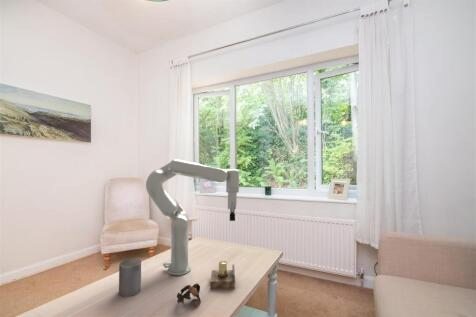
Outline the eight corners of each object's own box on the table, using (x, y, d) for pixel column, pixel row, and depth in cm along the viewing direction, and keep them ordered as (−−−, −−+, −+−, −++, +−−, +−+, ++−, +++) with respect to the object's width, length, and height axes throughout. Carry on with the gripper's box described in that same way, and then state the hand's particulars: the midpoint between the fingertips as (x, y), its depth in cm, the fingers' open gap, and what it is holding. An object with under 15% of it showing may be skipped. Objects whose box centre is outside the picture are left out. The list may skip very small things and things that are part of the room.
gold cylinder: (218, 284, 119) (218, 264, 119) (218, 280, 123) (219, 261, 123) (226, 284, 119) (226, 264, 119) (226, 280, 123) (226, 261, 123)
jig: (210, 288, 114) (210, 275, 114) (211, 276, 126) (212, 264, 126) (234, 288, 115) (234, 275, 115) (234, 276, 127) (234, 264, 127)
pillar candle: (119, 288, 115) (119, 257, 115) (141, 284, 118) (141, 254, 118) (117, 299, 106) (118, 265, 106) (141, 294, 109) (141, 262, 110)
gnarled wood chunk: (195, 313, 97) (185, 296, 96) (180, 317, 101) (170, 300, 100) (209, 291, 108) (199, 276, 107) (194, 295, 112) (185, 280, 111)
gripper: (226, 188, 148) (226, 217, 148) (226, 191, 133) (225, 223, 133) (238, 188, 148) (238, 217, 148) (239, 191, 133) (239, 223, 133)
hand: (232, 220), depth 140 cm, fingers closed
